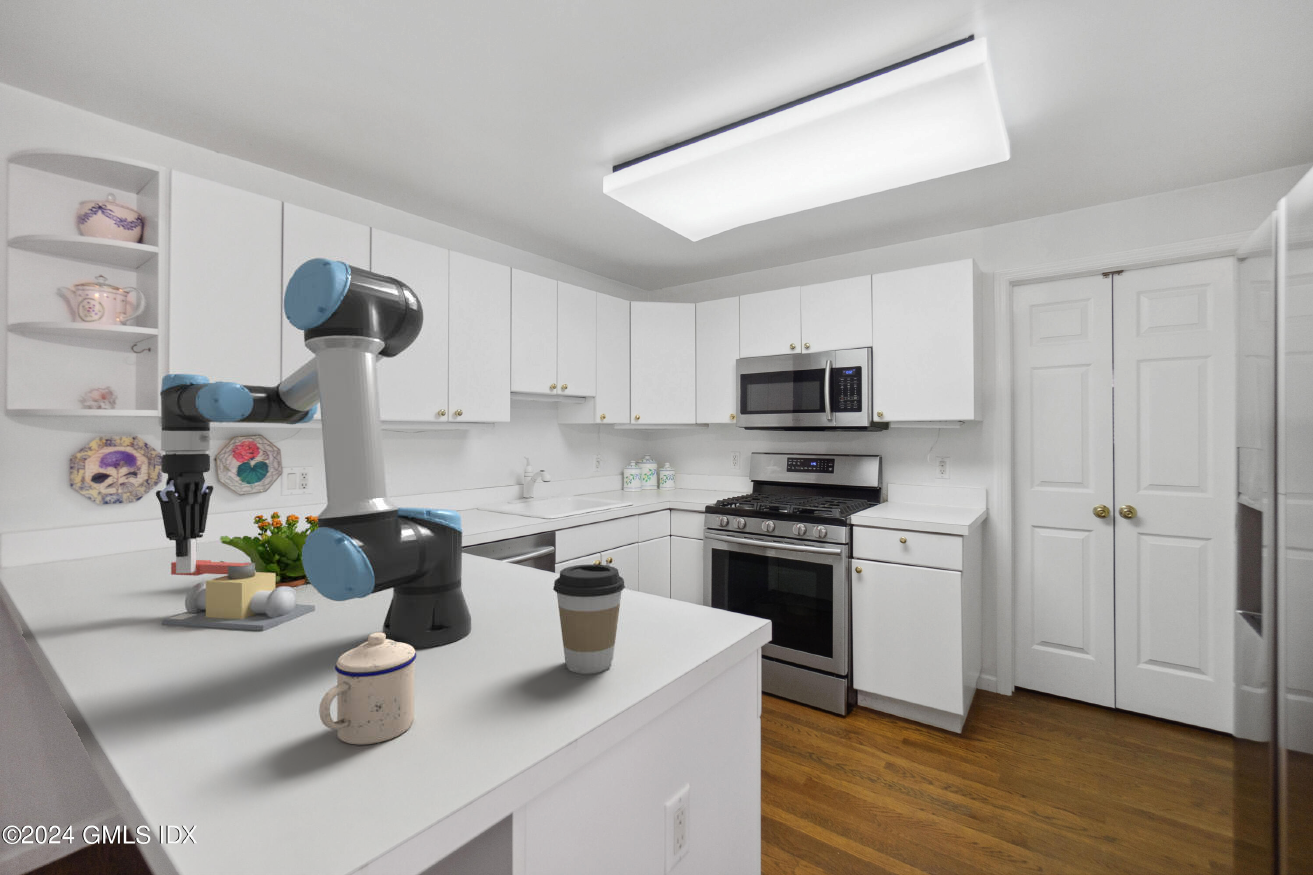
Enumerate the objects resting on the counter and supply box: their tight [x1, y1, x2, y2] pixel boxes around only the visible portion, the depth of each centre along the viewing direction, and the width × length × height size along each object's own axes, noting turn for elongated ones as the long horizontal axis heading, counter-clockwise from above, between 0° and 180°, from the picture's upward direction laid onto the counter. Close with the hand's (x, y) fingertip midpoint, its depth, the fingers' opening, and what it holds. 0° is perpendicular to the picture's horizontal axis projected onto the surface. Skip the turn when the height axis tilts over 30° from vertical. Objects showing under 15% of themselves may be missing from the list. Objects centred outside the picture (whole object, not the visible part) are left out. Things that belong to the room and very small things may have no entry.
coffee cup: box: [552, 563, 626, 675], centre depth 92 cm, size 11×11×15 cm
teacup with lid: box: [318, 632, 417, 746], centre depth 71 cm, size 12×9×12 cm
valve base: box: [161, 571, 316, 632], centre depth 116 cm, size 22×13×8 cm, turn 81°
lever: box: [170, 559, 256, 580], centre depth 117 cm, size 17×4×3 cm, turn 82°
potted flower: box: [219, 511, 318, 588], centre depth 141 cm, size 25×24×18 cm
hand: (186, 572), depth 115 cm, fingers closed
